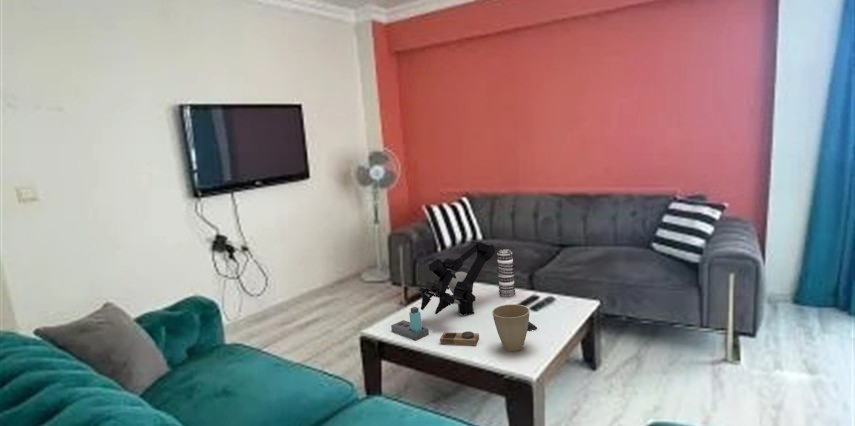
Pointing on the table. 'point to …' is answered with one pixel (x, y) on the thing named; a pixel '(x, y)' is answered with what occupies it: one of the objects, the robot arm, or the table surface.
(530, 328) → the phone
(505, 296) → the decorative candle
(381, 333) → the table surface
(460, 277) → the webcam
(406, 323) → the port block
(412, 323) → the plug
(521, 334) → the plant pot
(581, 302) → the table surface
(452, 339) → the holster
